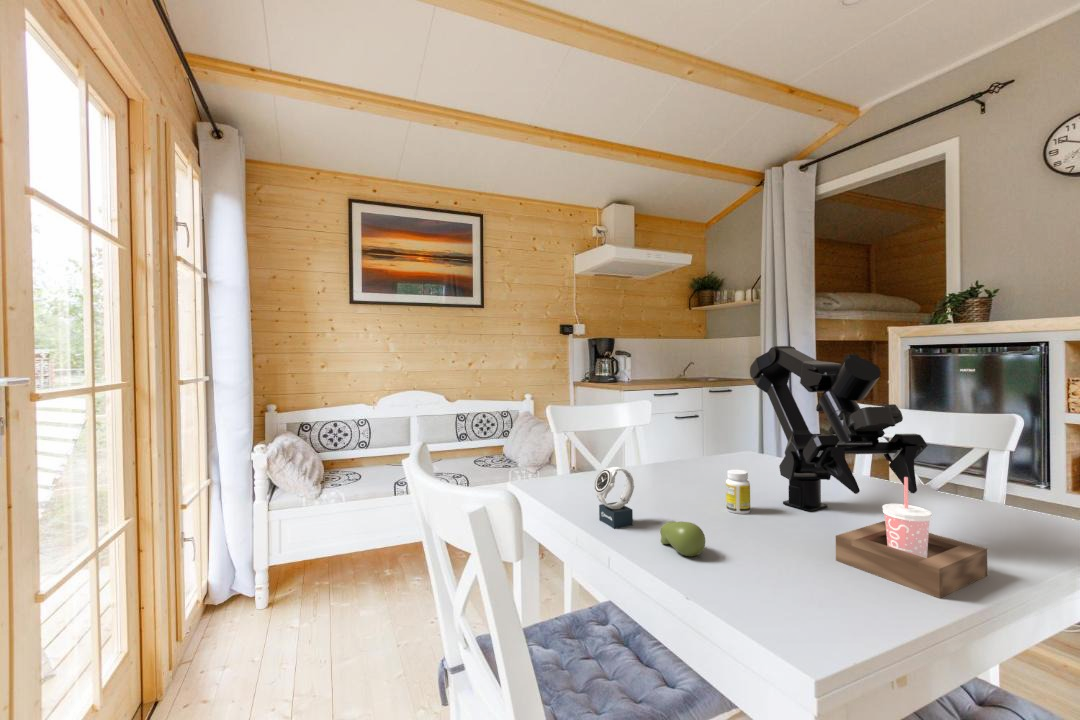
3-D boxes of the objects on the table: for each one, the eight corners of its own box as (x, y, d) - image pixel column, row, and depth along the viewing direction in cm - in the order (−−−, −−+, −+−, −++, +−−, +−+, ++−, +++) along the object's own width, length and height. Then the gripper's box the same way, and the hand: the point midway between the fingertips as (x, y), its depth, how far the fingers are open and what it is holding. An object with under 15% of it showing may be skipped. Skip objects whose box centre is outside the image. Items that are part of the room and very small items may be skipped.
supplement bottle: (750, 508, 104) (750, 470, 104) (750, 515, 100) (749, 475, 100) (727, 506, 106) (726, 468, 106) (725, 512, 102) (724, 473, 102)
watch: (590, 521, 98) (590, 467, 98) (624, 515, 101) (623, 463, 101) (605, 530, 93) (604, 473, 93) (640, 523, 96) (639, 468, 96)
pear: (680, 527, 78) (650, 518, 88) (684, 561, 78) (653, 549, 87) (710, 523, 80) (677, 515, 89) (714, 557, 79) (681, 545, 89)
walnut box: (884, 543, 84) (884, 520, 84) (987, 575, 72) (987, 548, 72) (835, 560, 78) (835, 535, 78) (939, 598, 65) (939, 568, 65)
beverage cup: (873, 559, 78) (872, 473, 78) (909, 558, 78) (908, 471, 78) (904, 577, 72) (903, 483, 72) (943, 575, 72) (942, 481, 72)
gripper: (810, 389, 85) (849, 466, 74) (919, 387, 85) (974, 465, 74) (789, 426, 93) (821, 501, 82) (888, 425, 93) (933, 501, 82)
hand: (885, 492), depth 80 cm, fingers open, 9 cm apart
